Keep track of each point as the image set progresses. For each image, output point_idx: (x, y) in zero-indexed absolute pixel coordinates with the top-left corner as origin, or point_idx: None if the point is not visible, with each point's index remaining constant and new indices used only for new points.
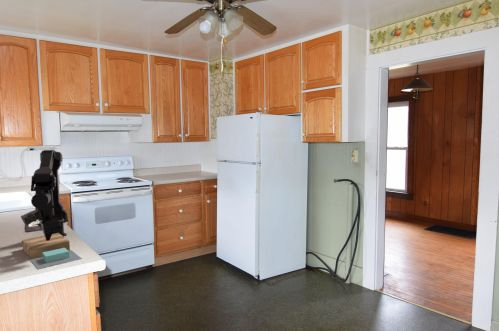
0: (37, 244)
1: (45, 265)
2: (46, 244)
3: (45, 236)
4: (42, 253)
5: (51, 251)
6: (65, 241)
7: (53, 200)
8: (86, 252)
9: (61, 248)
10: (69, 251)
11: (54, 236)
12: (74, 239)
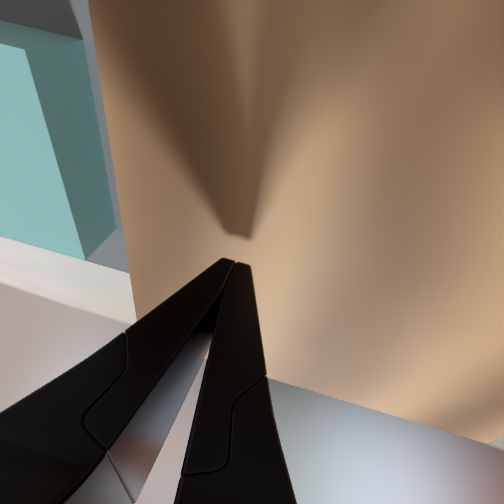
0: (287, 135)
1: None
2: (173, 204)
3: (177, 298)
4: (22, 45)
5: (17, 142)
6: None
7: None
8: (72, 291)
9: (74, 238)
10: None
11: (417, 385)
12: None
